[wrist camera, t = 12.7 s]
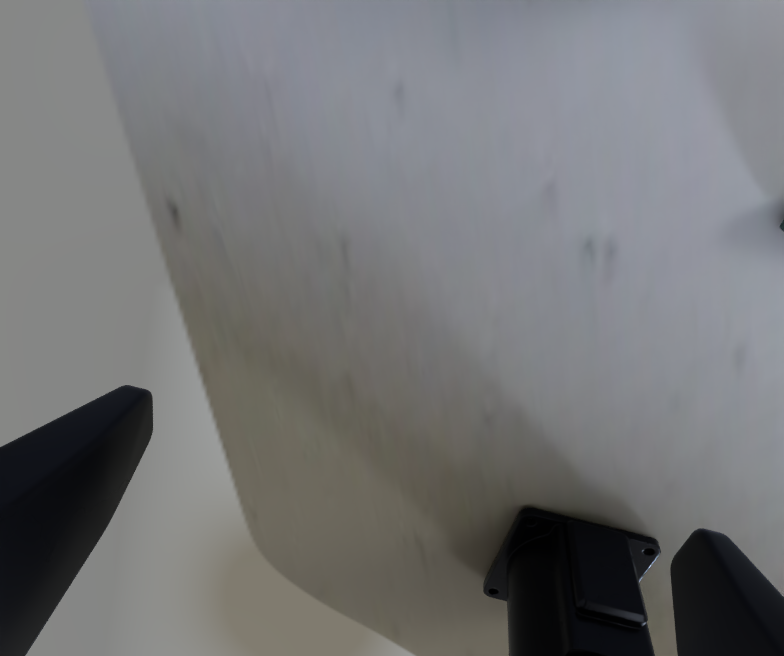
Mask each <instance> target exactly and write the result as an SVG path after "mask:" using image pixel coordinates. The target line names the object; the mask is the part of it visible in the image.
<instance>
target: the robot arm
mask: <svg viewBox="0 0 784 656" xmlns="http://www.w3.org/2000/svg"><path fill="white" fill-rule="evenodd" d="M152 405H153V401H152V394H151V392H150V391H148V390H146V389H142V388H138V387H134V386H130V385H125V386H121V387H119V388H117V389H115V390H113V391H111V392H109V393H108V394H105V395H103V396H101V397H99V398H97V399H95V400H93V401H91V402H89V403H87V404H85V405H83V406H81V407H79V408H78V409H75V410H73V411H72V412H69V413H68V414H66V415H63V416H61V417H60V418H57V419H56V420H54V421H52V422H50V423H47V424H46V425H44V426H42V427H40V428H38V429H36V430H34V431H32V432H30V433H28V434H26V435H24V436H22V437H20V438H18V439H16V440H14V441H12V442H10V443H8V444H6V445H4V446H2V447H0V656H25V655H26V654H27V652H28V651H29V649H30V648H31V646H32V644H33V643H34V641H35V640H36V638H37V637H38V635H39V633H40V632H41V630H42V629H43V627H44V626H45V624H46V622H47V621H48V619H49V618H50V616H51V615H52V613H53V611H54V610H55V608H56V606H57V605H58V603H59V602H60V600H61V599H62V597H63V596H64V594H65V592H66V591H67V589H68V588H69V586H70V585H71V583H72V581H73V580H74V578H75V577H76V575H77V574H78V572H79V570H80V569H81V567H82V566H83V564H84V563H85V561H86V560H87V558H88V556H89V555H90V553H91V552H92V550H93V549H94V547H95V546H96V544H97V542H98V541H99V539H100V537H101V536H102V534H103V533H104V531H105V529H106V528H107V526H108V524H109V522H110V520H111V518H112V517H113V515H114V513H115V511H116V509H117V507H118V505H119V503H120V501H121V499H122V496H123V494H124V492H125V490H126V488H127V486H128V484H129V482H130V480H131V478H132V476H133V474H134V472H135V470H136V468H137V466H138V464H139V462H140V459H141V458H142V456H143V454H144V451H145V449H146V447H147V445H148V443H149V441H150V439H151V435H152V431H153V406H152ZM529 518H531V519H529ZM660 553H661V551H660V547H659V544H658V541H657V540H656V539H654V538H651V537H647V536H643V535H639V534H635V533H631V532H627V531H623V530H619V529H615V528H611V527H607V526H603V525H599V524H595V523H591V522H587V521H583V520H579V519H575V518H571V517H567V516H563V515H559V514H555V513H551V512H547V511H543V510H539V509H535V508H525V509H523V510H521V511H520V512H519V514H518V516H517V518H516V520H515V522H514V524H513V526H512V528H511V530H510V532H509V534H508V536H507V538H506V539H505V541H504V543H503V545H502V547H501V549H500V551H499V553H498V555H497V557H496V559H495V561H494V563H493V565H492V567H491V569H490V571H489V573H488V575H487V577H486V579H485V581H484V584H483V591H484V594H486V595H487V596H489V597H492V598H496V599H500V600H504V601H507V611H508V638H509V656H655V654H654V650H653V646H652V642H651V637H650V633H649V629H648V625H647V621H648V617H647V613H646V609H645V604H644V600H643V596H642V592H641V588H640V584H639V581H640V580H641V579H642V577H643V576H644V575H645V573H646V572H647V571H648V569H649V568H650V567H651V565H652V564H653V563H654V561H655V560H656V559H657V557H658V556H659V555H660ZM671 584H672V596H673V607H674V619H675V630H676V642H677V652H678V656H784V597H783V596H782V595H781V594H780V593H779V591H778V590H777V589H776V588H775V587H774V586H773V585H772V584H771V583H770V582H769V581H768V580H767V578H766V577H765V576H764V575H763V574H762V573H761V572H760V571H759V570H758V569H757V568H756V567H755V565H754V564H753V563H752V562H751V561H750V560H749V559H748V558H747V557H746V556H745V555H744V554H743V553H742V551H741V550H740V549H739V548H738V547H737V546H736V545H735V544H734V543H733V542H732V541H731V540H730V539H729V538H728V537H727V536H726V535H724V534H722V533H719V532H715V531H711V530H707V529H697V530H695V531H694V532H693V533H692V534H691V535H690V537H689V538H688V539H687V541H686V542H685V543H684V544H683V546H682V547H681V548H680V550H679V551H678V552H677V553H676V555H675V556H674V558H673V560H672V563H671Z"/></svg>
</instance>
